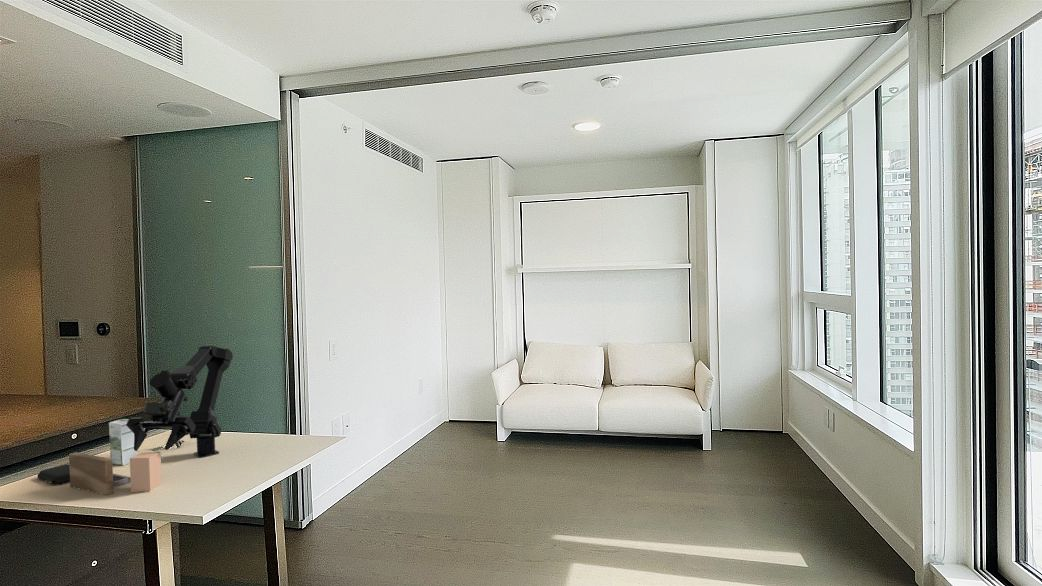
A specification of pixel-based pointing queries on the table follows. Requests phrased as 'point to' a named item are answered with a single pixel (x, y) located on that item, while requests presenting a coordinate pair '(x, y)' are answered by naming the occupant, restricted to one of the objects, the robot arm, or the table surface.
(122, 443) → the syrup box
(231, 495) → the table surface
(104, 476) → the cleat board
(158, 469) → the pinkish tan block
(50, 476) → the carrying case or bag
